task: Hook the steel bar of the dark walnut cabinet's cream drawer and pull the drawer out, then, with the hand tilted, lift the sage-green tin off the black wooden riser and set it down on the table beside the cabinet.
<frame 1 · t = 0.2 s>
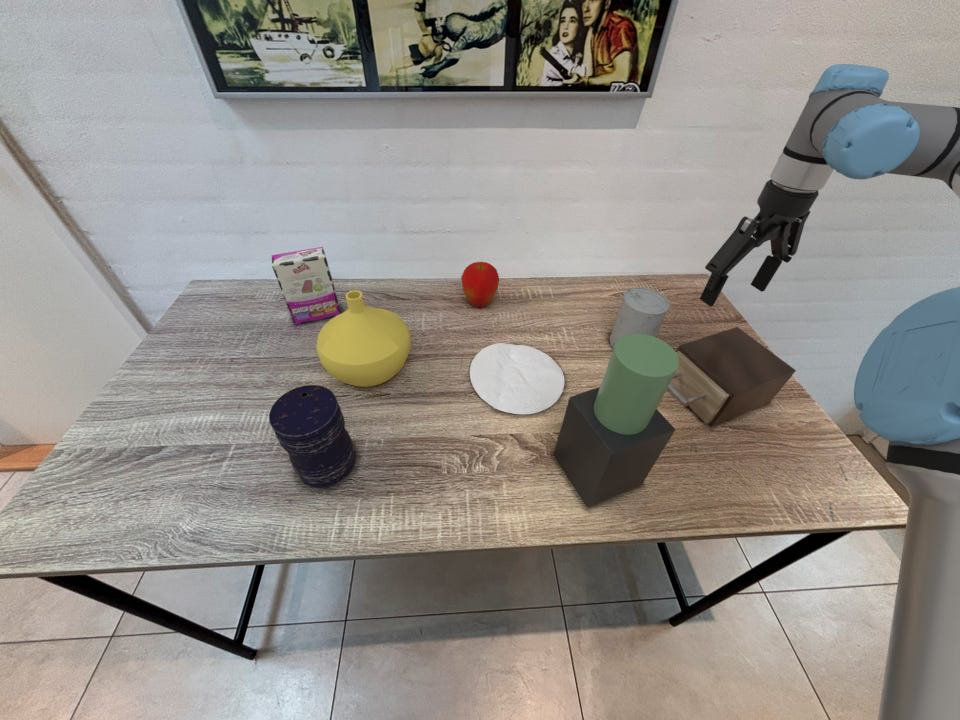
hand: (732, 295, 80), 18 cm above the table, tool pointing down, fingers open, 13 cm apart
dark blue cylinder: (327, 463, 71), on the table
vase: (370, 369, 88), on the table
riser: (596, 469, 72), on the table
drawer: (708, 380, 81), point 5 cm above the table, slide at 0.0 cm
plaque: (516, 378, 87), on the table
grey concrete cylinder: (629, 343, 96), on the table
tin: (620, 412, 60), point 16 cm above the table, touching riser
apple: (479, 303, 105), on the table
candy bar box: (317, 315, 100), on the table
cabinet: (714, 391, 86), on the table
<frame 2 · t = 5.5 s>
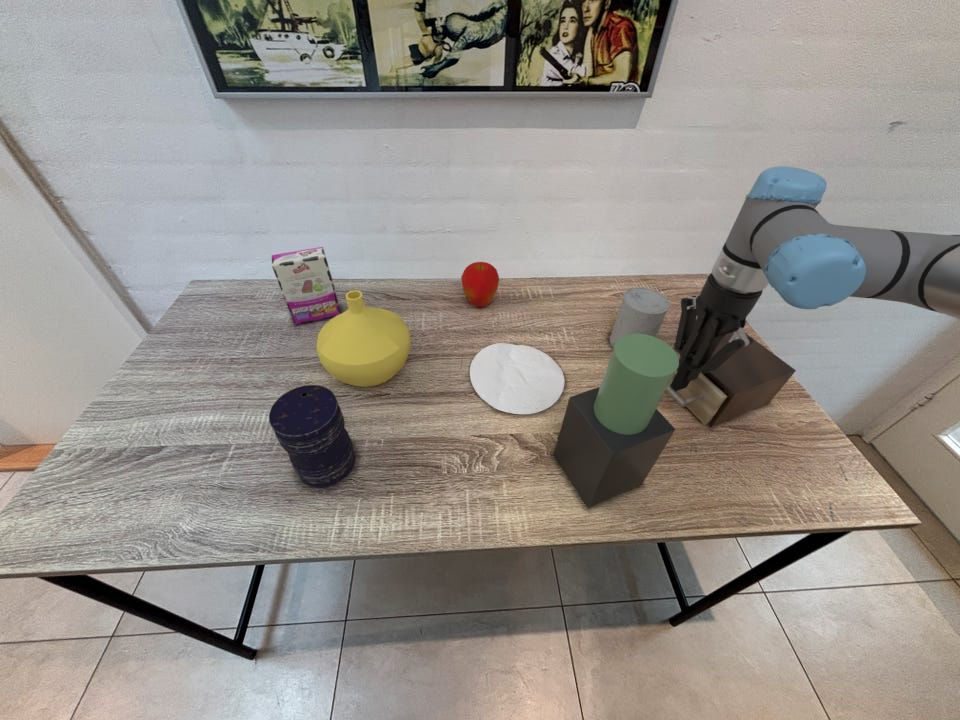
hand: (678, 386, 77), 7 cm above the table, tool pointing down, fingers closed
drawer: (706, 381, 81), point 5 cm above the table, slide at 0.6 cm, touching gripper
everything else where it was.
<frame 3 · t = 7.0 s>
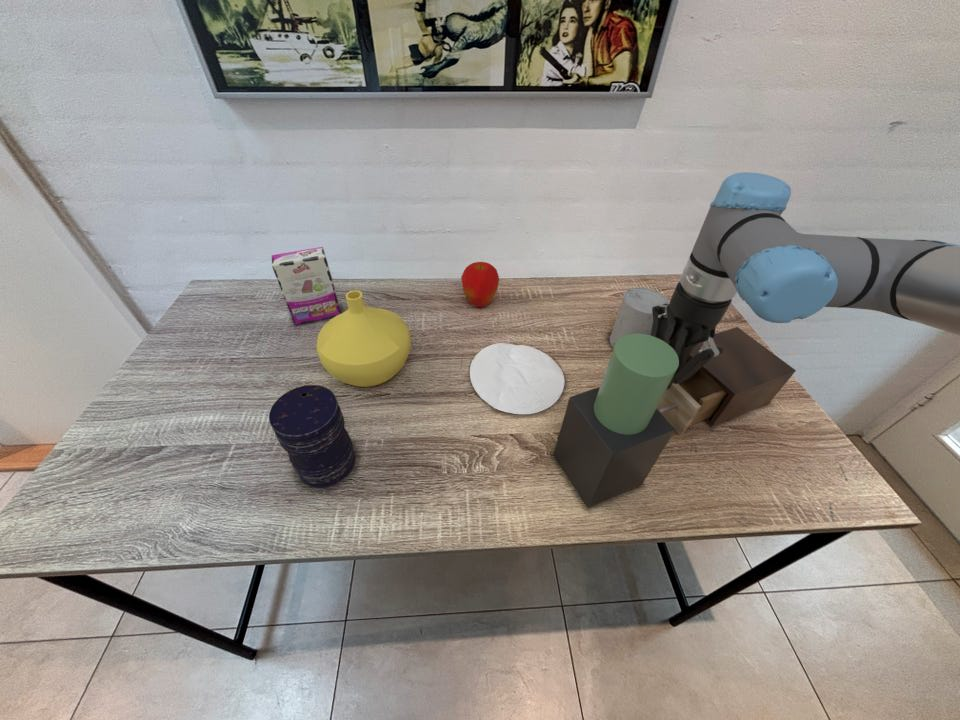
hand: (652, 395, 75), 7 cm above the table, tool pointing down, fingers closed
drawer: (682, 390, 79), point 5 cm above the table, slide at 6.7 cm, touching gripper
everything else where it was.
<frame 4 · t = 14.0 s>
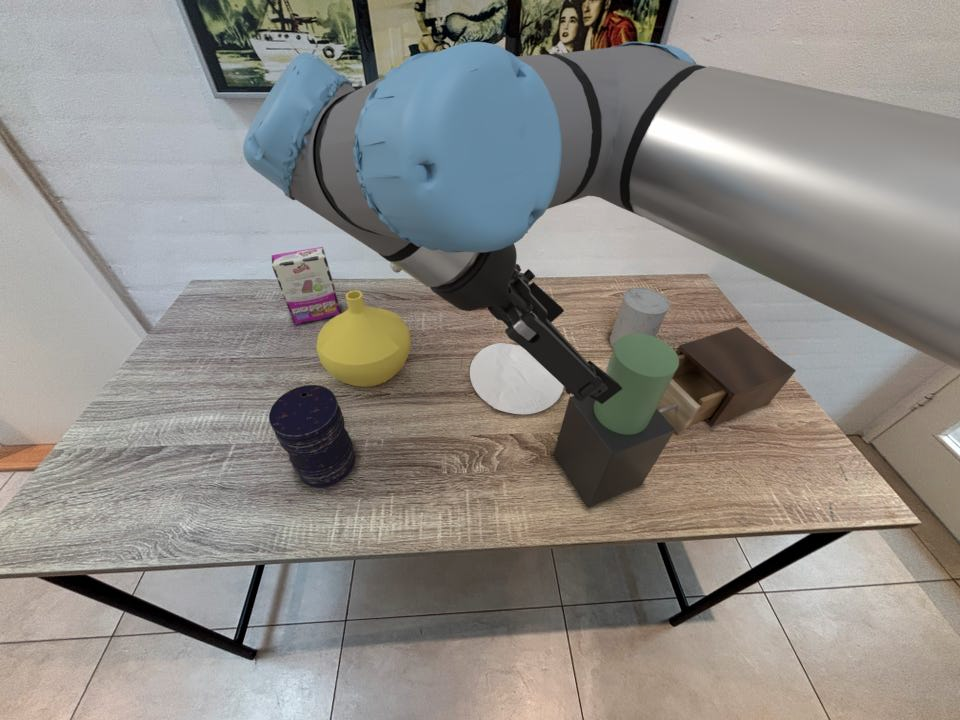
hand: (580, 351, 47), 31 cm above the table, tool tilted 45°, fingers open, 13 cm apart
drawer: (681, 390, 79), point 5 cm above the table, slide at 6.8 cm
everything else where it was.
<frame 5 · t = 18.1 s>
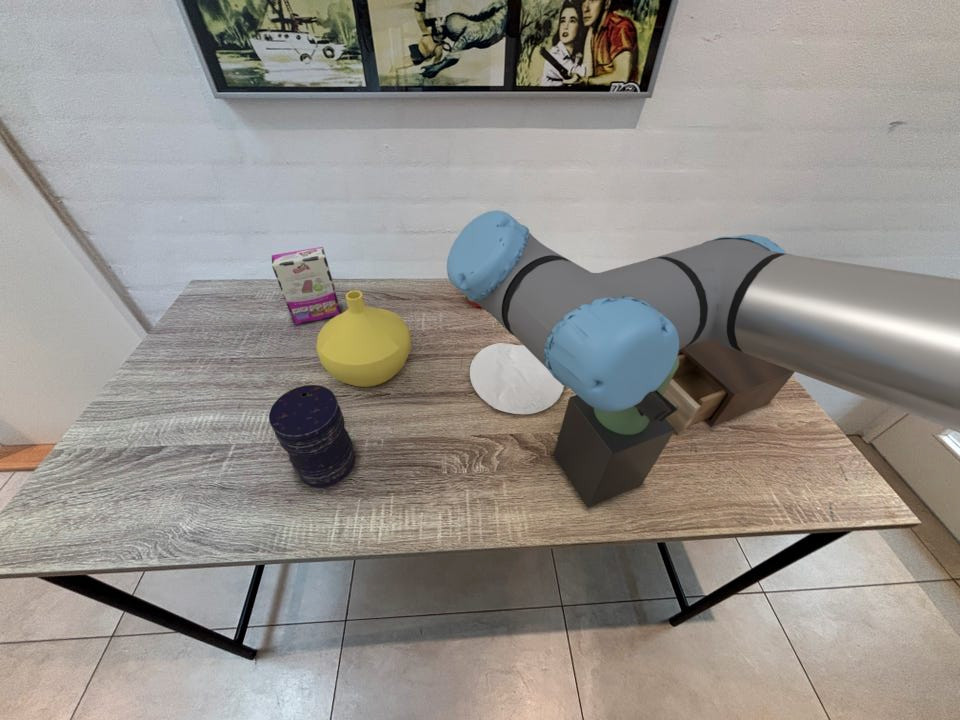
hand: (648, 390, 58), 20 cm above the table, tool tilted 45°, fingers closed on tin, 8 cm apart
tin: (620, 412, 60), point 16 cm above the table, touching gripper, riser
everything else where it was.
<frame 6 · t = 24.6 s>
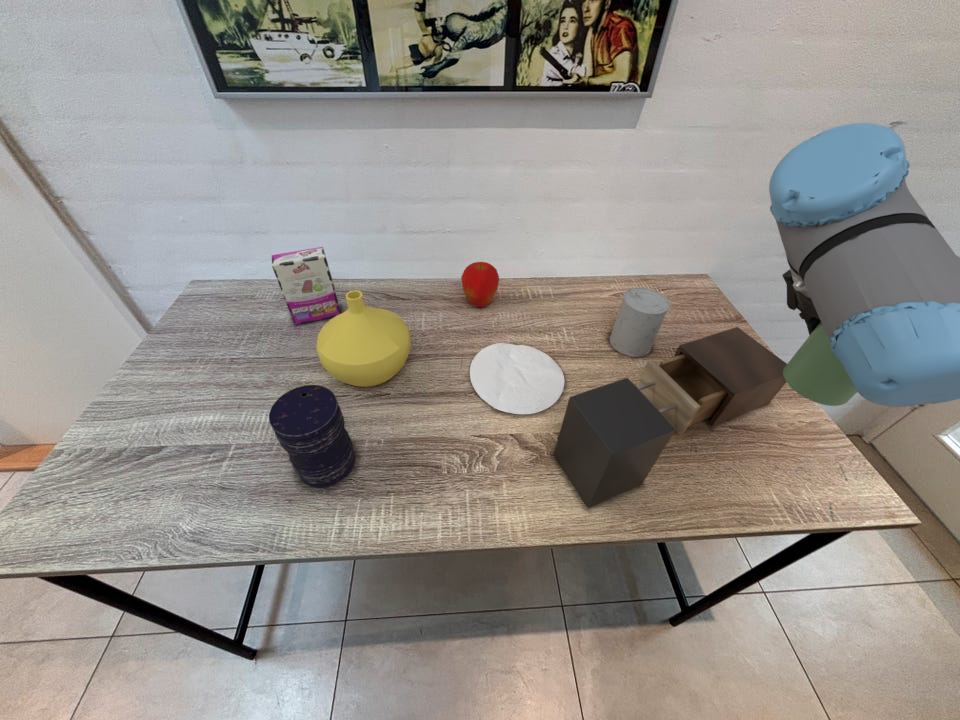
hand: (851, 358, 54), 27 cm above the table, tool tilted 45°, fingers closed on tin, 8 cm apart
tin: (815, 383, 56), point 23 cm above the table, touching gripper
everything else where it was.
when the fingers open (4 cm above the table, at t = 31.0 s): tin stays where it is, on the table.
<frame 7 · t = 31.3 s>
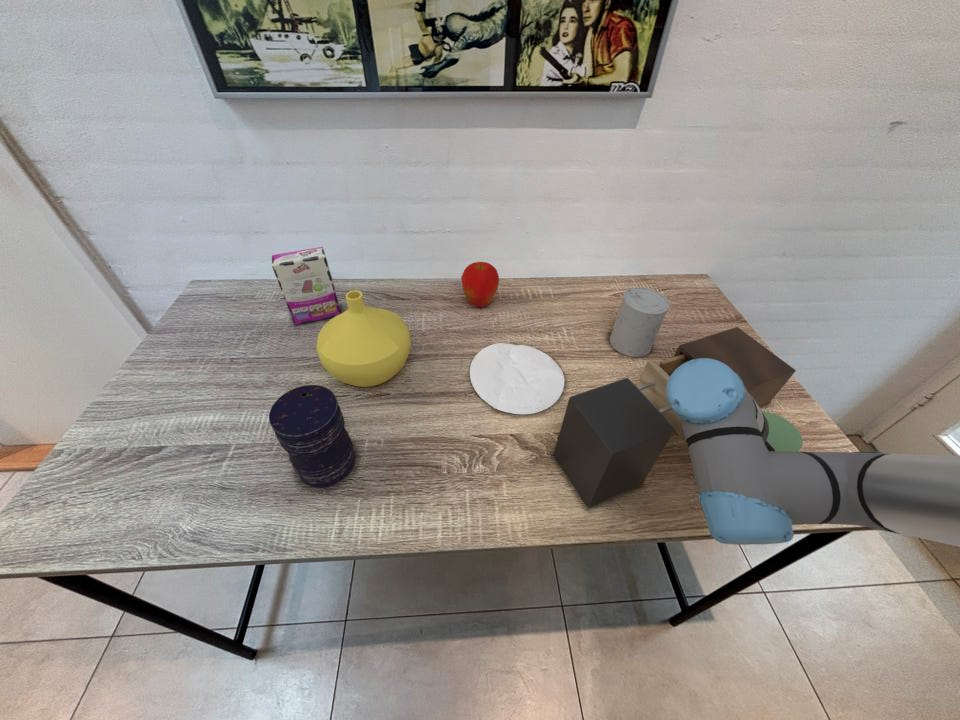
hand: (762, 455, 70), 4 cm above the table, tool tilted 45°, fingers open, 11 cm apart
tin: (737, 471, 72), on the table
everything else where it was.
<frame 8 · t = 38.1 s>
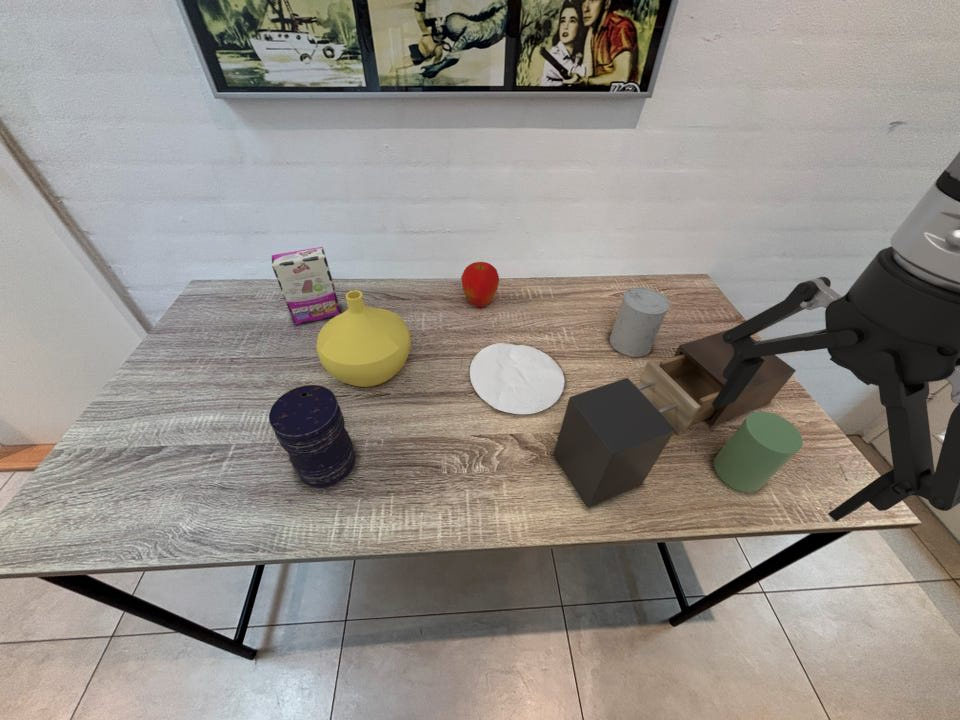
hand: (775, 451, 41), 29 cm above the table, tool pointing down, fingers open, 13 cm apart
nothing on the table moved.
at the end: drawer slide at 6.8 cm; tin inside the target area (0.1 cm from its centre), on the table; tin tilted 0° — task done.
